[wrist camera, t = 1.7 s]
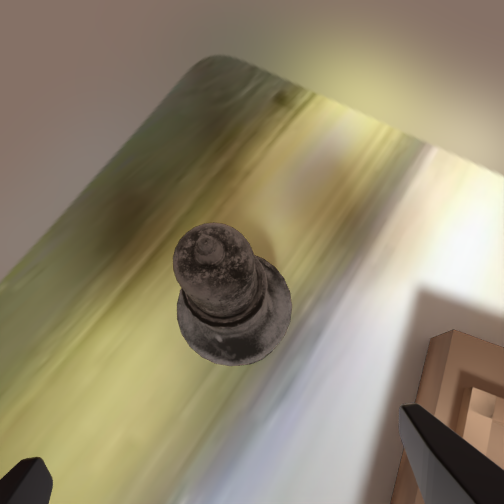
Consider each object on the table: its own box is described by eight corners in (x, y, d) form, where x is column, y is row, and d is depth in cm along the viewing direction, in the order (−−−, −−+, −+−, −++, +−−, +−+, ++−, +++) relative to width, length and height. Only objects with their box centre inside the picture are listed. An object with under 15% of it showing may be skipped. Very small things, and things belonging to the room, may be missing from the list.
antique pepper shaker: (242, 254, 24) (212, 127, 13) (310, 320, 22) (345, 240, 11) (171, 318, 23) (69, 240, 11) (237, 393, 21) (191, 388, 10)
